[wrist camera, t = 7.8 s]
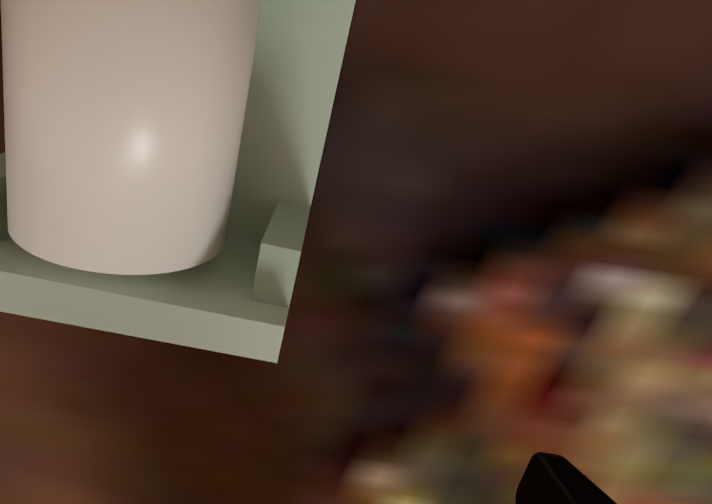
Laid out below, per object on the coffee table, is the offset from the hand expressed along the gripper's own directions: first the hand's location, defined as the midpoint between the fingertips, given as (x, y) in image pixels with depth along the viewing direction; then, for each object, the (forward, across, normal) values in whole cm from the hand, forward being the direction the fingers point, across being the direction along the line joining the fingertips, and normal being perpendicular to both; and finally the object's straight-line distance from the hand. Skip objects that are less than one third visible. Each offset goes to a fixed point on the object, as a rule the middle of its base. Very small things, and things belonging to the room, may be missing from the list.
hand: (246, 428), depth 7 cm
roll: (+8, +5, -4) cm, 10 cm away
